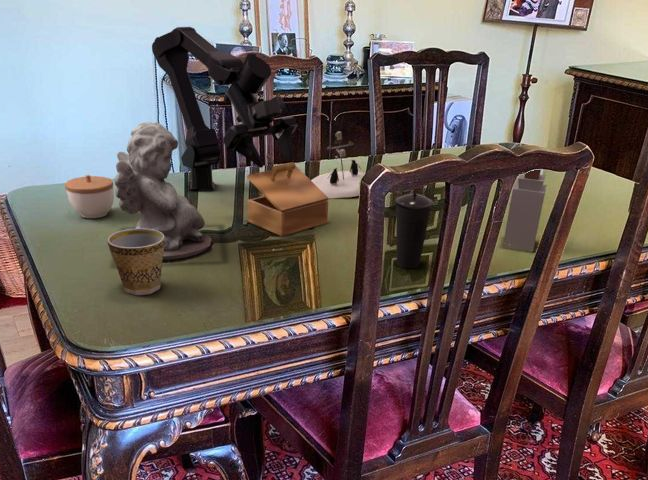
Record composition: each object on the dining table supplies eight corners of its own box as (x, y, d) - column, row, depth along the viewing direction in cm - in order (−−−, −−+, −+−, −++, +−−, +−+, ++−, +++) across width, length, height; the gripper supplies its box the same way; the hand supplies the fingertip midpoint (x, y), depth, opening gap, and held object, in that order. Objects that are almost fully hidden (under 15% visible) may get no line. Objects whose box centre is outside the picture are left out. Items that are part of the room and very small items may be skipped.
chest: (248, 221, 154) (247, 199, 151) (293, 209, 163) (293, 188, 160) (281, 236, 146) (281, 213, 143) (327, 222, 155) (328, 201, 152)
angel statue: (114, 267, 128) (94, 139, 115) (124, 228, 147) (107, 115, 134) (225, 262, 132) (218, 138, 119) (221, 225, 151) (214, 115, 138)
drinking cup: (430, 261, 137) (441, 167, 126) (419, 274, 131) (430, 176, 120) (397, 254, 139) (405, 162, 129) (384, 266, 133) (392, 170, 123)
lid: (246, 177, 148) (250, 160, 145) (293, 167, 157) (298, 151, 154) (281, 213, 144) (286, 196, 140) (327, 200, 153) (333, 184, 149)
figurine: (357, 172, 190) (355, 116, 181) (391, 190, 177) (391, 130, 168) (297, 187, 182) (292, 129, 173) (329, 206, 169) (325, 145, 160)
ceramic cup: (171, 296, 118) (166, 245, 113) (114, 301, 115) (106, 249, 110) (167, 268, 128) (161, 221, 123) (115, 273, 126) (107, 224, 121)
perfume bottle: (534, 242, 149) (550, 164, 140) (532, 252, 143) (549, 172, 134) (505, 237, 151) (519, 161, 141) (502, 247, 145) (516, 168, 136)
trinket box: (124, 208, 159) (118, 170, 154) (106, 223, 150) (100, 183, 145) (82, 205, 159) (76, 168, 155) (62, 219, 150) (54, 180, 145)
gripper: (228, 87, 139) (261, 149, 138) (292, 80, 150) (323, 138, 149) (209, 119, 147) (240, 177, 146) (271, 110, 159) (300, 164, 158)
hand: (277, 163), depth 150 cm, fingers open, 9 cm apart
